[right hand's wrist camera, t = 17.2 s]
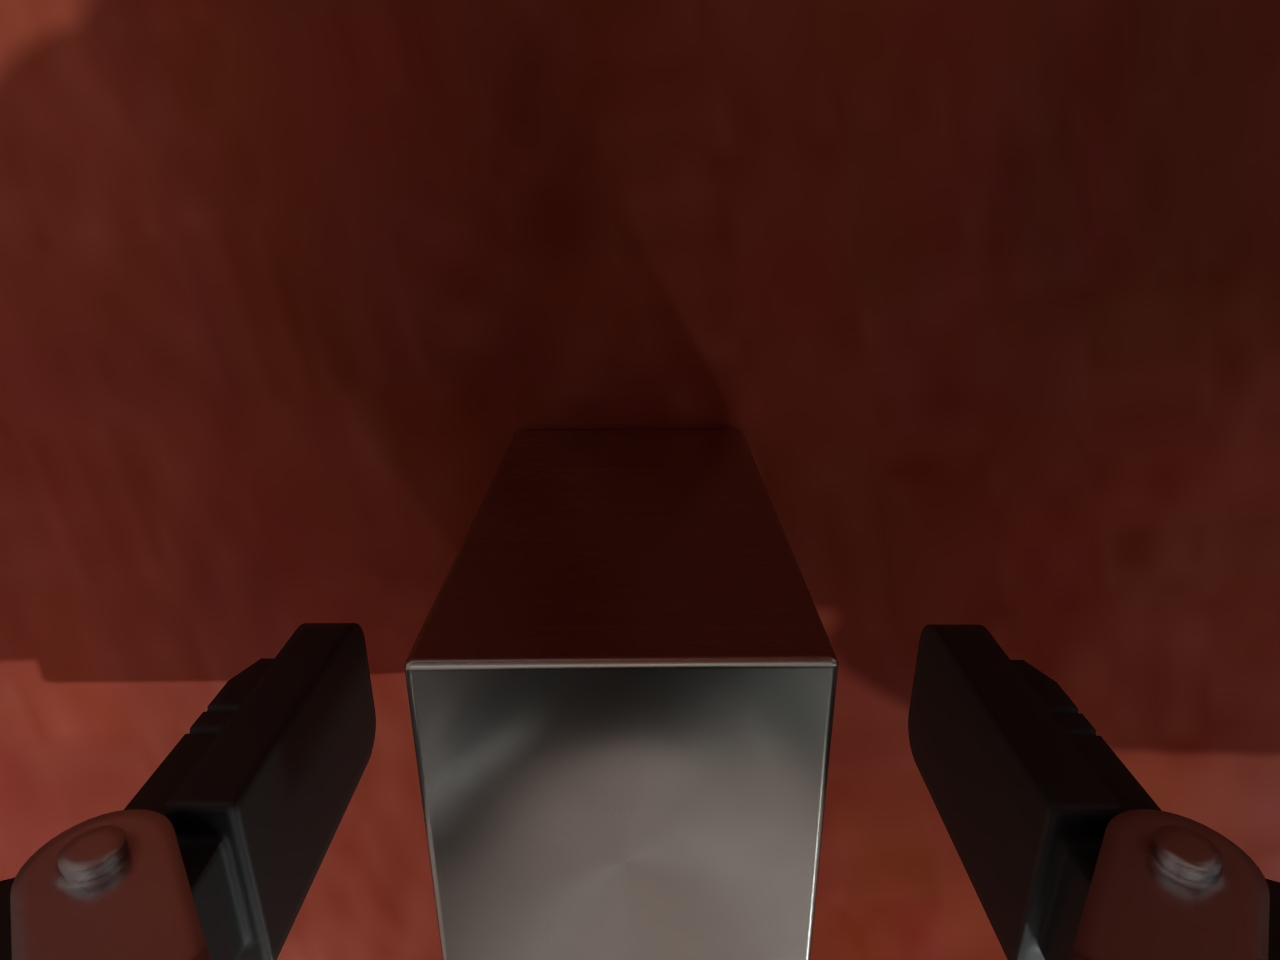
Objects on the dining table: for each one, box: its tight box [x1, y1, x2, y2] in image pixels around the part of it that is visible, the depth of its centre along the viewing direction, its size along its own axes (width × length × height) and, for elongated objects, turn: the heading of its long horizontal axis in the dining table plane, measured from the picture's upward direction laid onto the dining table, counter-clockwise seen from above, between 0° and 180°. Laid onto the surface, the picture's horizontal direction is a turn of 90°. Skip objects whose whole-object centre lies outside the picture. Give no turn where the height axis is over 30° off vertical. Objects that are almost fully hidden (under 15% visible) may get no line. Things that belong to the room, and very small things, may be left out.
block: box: [404, 429, 838, 960], centre depth 12 cm, size 4×5×8 cm
